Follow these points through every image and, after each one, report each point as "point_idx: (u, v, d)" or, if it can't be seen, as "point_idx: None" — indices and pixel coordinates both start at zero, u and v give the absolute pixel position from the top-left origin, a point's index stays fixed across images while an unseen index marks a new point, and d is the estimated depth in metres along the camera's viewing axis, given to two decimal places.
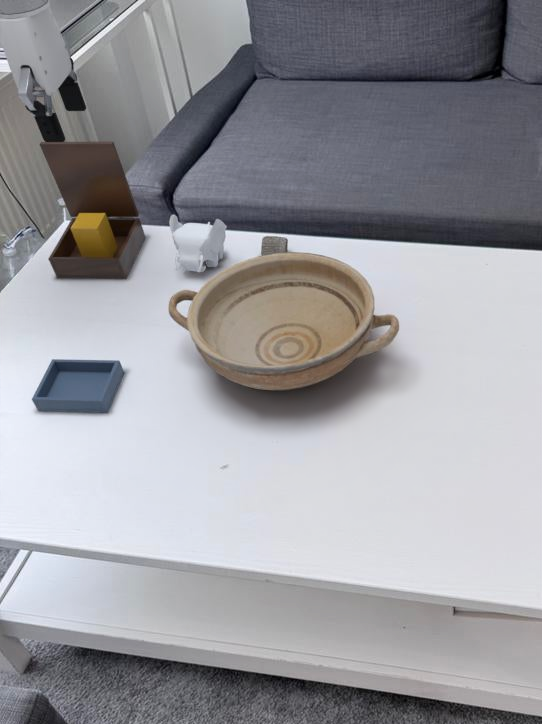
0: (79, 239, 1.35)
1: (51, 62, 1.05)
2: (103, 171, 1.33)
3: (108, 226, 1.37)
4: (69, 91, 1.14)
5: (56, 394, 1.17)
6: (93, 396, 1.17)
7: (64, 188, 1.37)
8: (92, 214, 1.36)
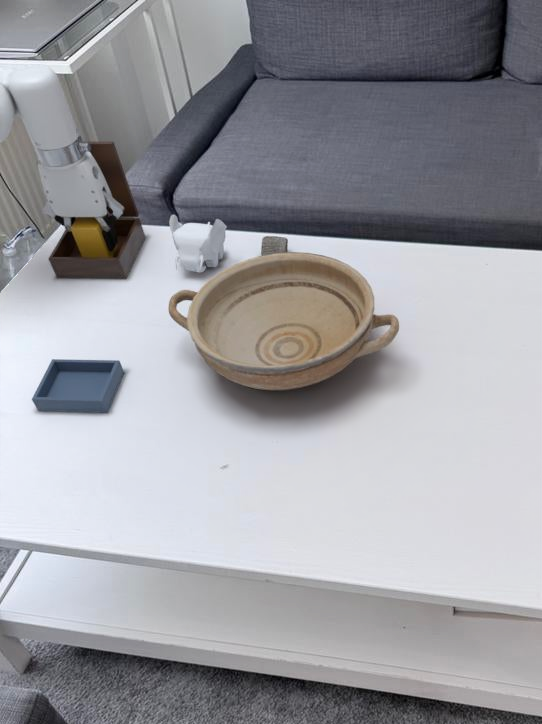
0: (79, 239, 1.35)
1: (61, 199, 1.29)
2: (103, 171, 1.33)
3: None
4: None
5: (56, 394, 1.17)
6: (93, 396, 1.17)
7: None
8: None
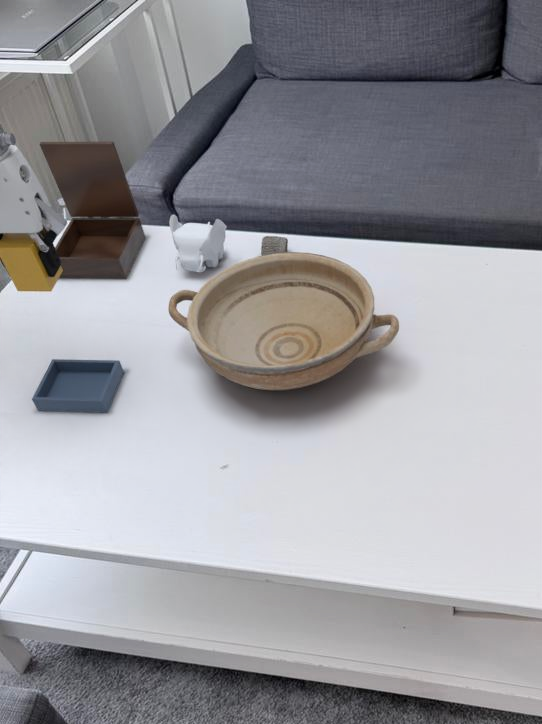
0: (8, 262, 1.02)
1: None
2: (103, 171, 1.33)
3: None
4: None
5: (56, 394, 1.17)
6: (93, 396, 1.17)
7: (64, 188, 1.37)
8: None
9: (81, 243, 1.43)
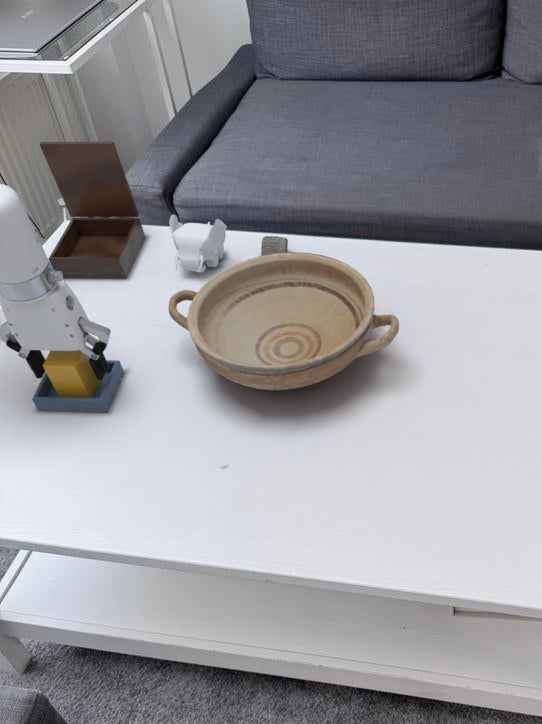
0: (53, 376, 1.13)
1: (29, 333, 1.06)
2: (103, 171, 1.33)
3: (89, 358, 1.15)
4: None
5: (56, 394, 1.17)
6: (93, 396, 1.17)
7: (64, 188, 1.37)
8: None
9: (81, 243, 1.43)
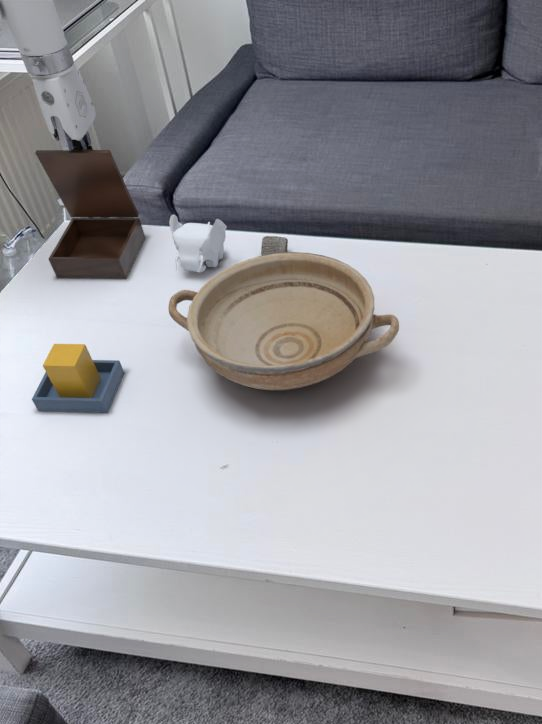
0: (53, 376, 1.13)
1: None
2: (101, 177, 1.32)
3: (89, 358, 1.15)
4: None
5: (56, 394, 1.17)
6: (93, 396, 1.17)
7: (63, 192, 1.36)
8: (69, 346, 1.14)
9: (81, 243, 1.43)
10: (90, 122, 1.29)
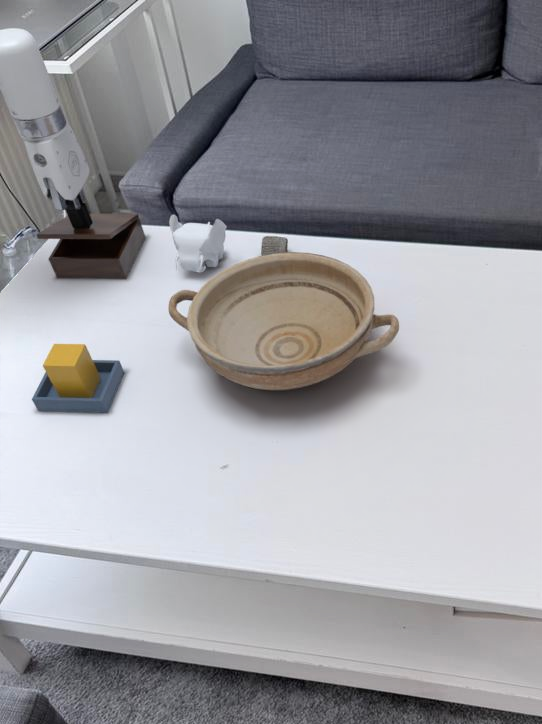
0: (53, 376, 1.13)
1: None
2: None
3: (89, 358, 1.15)
4: None
5: (56, 394, 1.17)
6: (93, 396, 1.17)
7: None
8: (69, 346, 1.14)
9: (81, 243, 1.43)
10: (84, 180, 1.27)
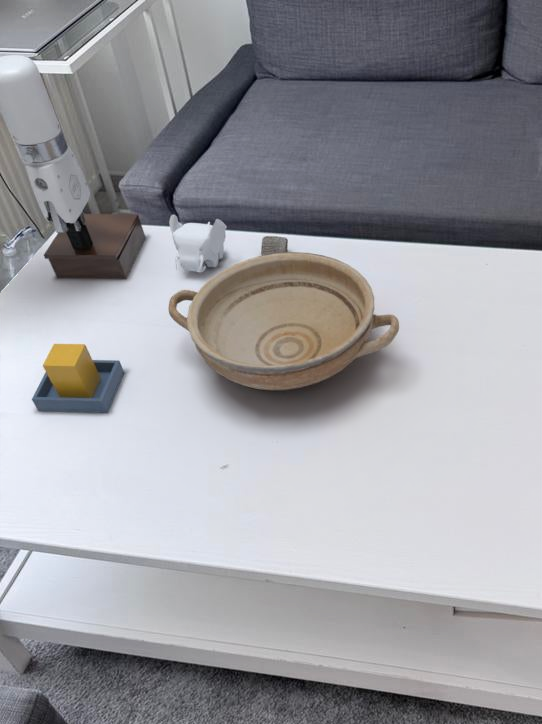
0: (53, 376, 1.13)
1: None
2: None
3: (89, 358, 1.15)
4: None
5: (56, 394, 1.17)
6: (93, 396, 1.17)
7: None
8: (69, 346, 1.14)
9: None
10: (84, 203, 1.28)
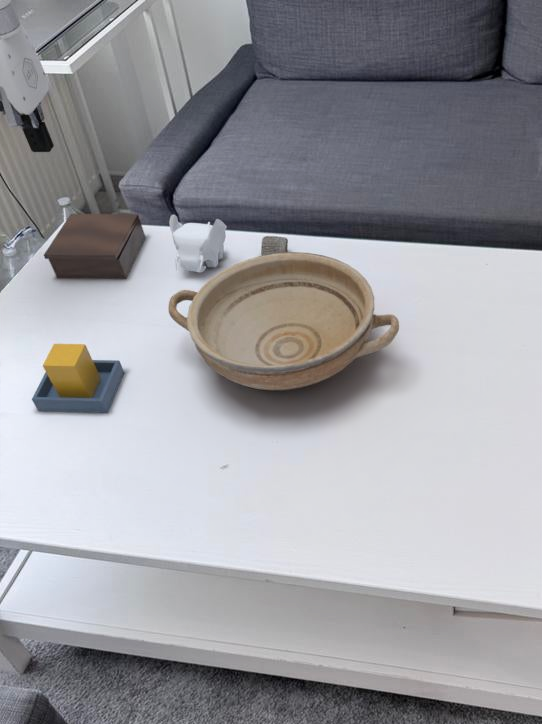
0: (53, 376, 1.13)
1: None
2: None
3: (89, 358, 1.15)
4: None
5: (56, 394, 1.17)
6: (93, 396, 1.17)
7: None
8: (69, 346, 1.14)
9: None
10: (42, 94, 1.14)
